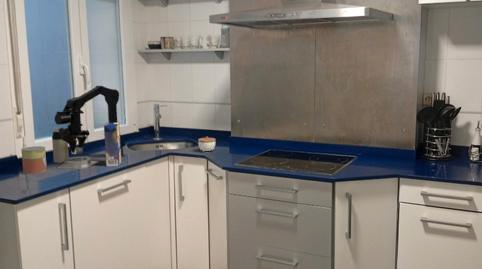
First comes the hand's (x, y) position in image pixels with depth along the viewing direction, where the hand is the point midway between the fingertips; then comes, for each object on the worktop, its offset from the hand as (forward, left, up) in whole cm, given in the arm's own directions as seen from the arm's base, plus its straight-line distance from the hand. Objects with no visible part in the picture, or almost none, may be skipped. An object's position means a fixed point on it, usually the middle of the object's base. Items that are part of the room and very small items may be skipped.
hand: (77, 151), depth 250 cm
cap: (0, 0, -1) cm, 1 cm away
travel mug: (+14, -7, -8) cm, 17 cm away
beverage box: (-18, -6, -8) cm, 21 cm away
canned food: (+15, +16, -8) cm, 23 cm away
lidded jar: (-61, -46, -8) cm, 77 cm away
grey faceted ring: (0, 0, -8) cm, 8 cm away
